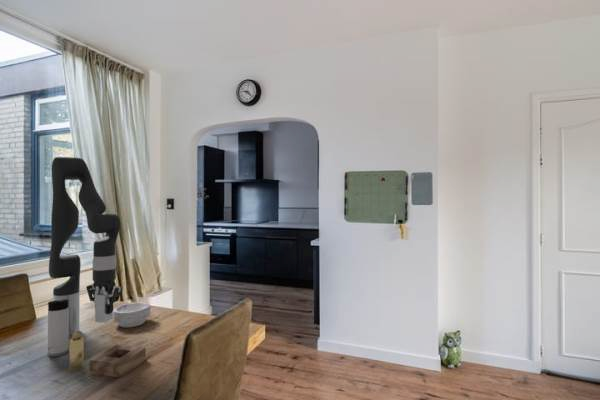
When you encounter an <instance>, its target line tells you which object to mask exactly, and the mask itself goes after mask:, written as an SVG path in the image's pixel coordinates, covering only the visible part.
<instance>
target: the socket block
mask: <svg viewBox="0 0 600 400" xmlns="http://www.w3.org/2000/svg"><path fill="white" fill-rule="evenodd" d="M146 351H147V350H146V347H144V346H134V345H125V344H124V345H123V344H115V345H113V346H111V347H109V348H107V349H106V350H104V351H102V352H101V353H100V354H98V355H96V356H94V357H92V358H91V359H89V375H97V376H105V377H113V378H123V377H124V376H126V375H127V374H129V373H130V372H131V371H133V370H134V369H136V367H139V366H140V365H141V364H142V363H143V362H145V361H146V359H147V358H146V355H147V354H146Z"/></svg>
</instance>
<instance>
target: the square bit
mask: <svg viewBox="0 0 600 400" xmlns="http://www.w3.org/2000/svg"><path fill="white" fill-rule="evenodd" d="M108 295H111V293H110V294H108ZM105 296H106V295H104V293H103V291H102V289H100V291H99V294H98V295H95V303H94V321H95V323H104V324H105V323H106V322H109V321H111V320H113V312H112V313H110V314H107V313H106V312H107V302H106V298H105Z"/></svg>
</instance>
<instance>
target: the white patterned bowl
mask: <svg viewBox="0 0 600 400" xmlns="http://www.w3.org/2000/svg"><path fill="white" fill-rule="evenodd" d="M150 316H151V304H150V303H149V302H142V301H141V302H132V303H131V302H130V303H124V304H121V305H119V306H116V307H115V308H113V319H112V320H113V322H114V323H117V324H118V325H119V327H121V328H134V327H137V326H141V325H143V324H144V323H145V321H146V319H147V318H149V317H150Z"/></svg>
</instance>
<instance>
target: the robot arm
mask: <svg viewBox="0 0 600 400" xmlns="http://www.w3.org/2000/svg"><path fill="white" fill-rule="evenodd" d="M69 180H70V181H73V180H74V181H76V180H78V181H79V182H80V183H81V187H80V188H79V192H78V202H79V204H80V205H81V207H82V209H83V210H84V212H85V216H86V221H87V223H86V224H87V227H88V230H89V231H90V233H91V232H92V234H104V236H103V237H102V238H100V239H96V240H95V241H94V242H93V255H92V256H93V258H92V281H93V283H91V284H89V285H86V291H87V294H88V299H89V301H90V302H93V303H94V304H95V295H98V294H99V291H100V289H102V291H103V293H104V295H106V296H105V298H106V302H107V312H106V313H107V314H110V313H112V312H113V310H114V304H115V303H116V302H118V301H119V300H120V296H121V293H122V290H123V287H122V286H121V285H120V286H118V285H117V284H116V282H115V280H116V278H117V260H116V259H117V258H116V242H117V239H118V236H119V232H120V229H121V226H122V225H121V219H120V217H119V216H118V215H117V214H116V213H105V212H106V210H107V206H106V203H105V202H104V201H103V199H102V197H101V196H100V194H99V192H98V190H97V189H96V187H95V183H94V180H93V178H92V175H91V172H90V170H89V167H88V165H87V163H86V161H85V160H84V159H83V158H81V157H77V156H56V157H54V158H53V160H52V163H51V185H52V203H51V204H52V205H51V206H52V207H51V225H50V227H51V228H50V230H51V232H50V233H51V234H50V235H51V236H50V237H51V240H50V241H51V242H50V252H49V260H48V261H49V262H48V274H49V277H50V278H52V279H61V278H62V279H64V278H68V279H67V280H66V281H64V282H62V283H61V284H57V285H56V286H55V287H54V288H53V290H52V301H55V300H57V301H60V300H65V299H67V300H68V307H69V308H68V309H69V337H70V336H72V334H73V333H75V332H80V311H81V310H80V300H81V298H80V296H81V295H80V283H81V281H80V277H81V267H82V266H81V263H82V262H81V258H80V256H79V255H78V254H65V255H61V253H62V250H63V248H64V246H65V245H66V243H67V242H68V240H69V239H70V238H72V236H73V235H74V234H75V232H76V231H77V229H78V228H79V223H80V222H79V219H80V211H79V208H78V206H77V205H76V203H75V202H74V201H73V199H72V198H71V196H70V195H69V193H68V191H67V187H66V181H69ZM104 213H105V214H104ZM110 293H111V295H108V294H110Z"/></svg>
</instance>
